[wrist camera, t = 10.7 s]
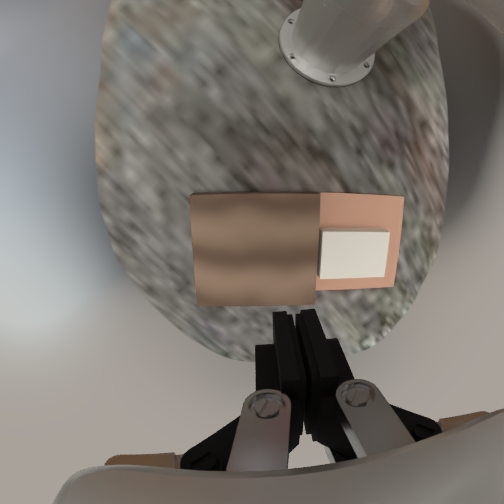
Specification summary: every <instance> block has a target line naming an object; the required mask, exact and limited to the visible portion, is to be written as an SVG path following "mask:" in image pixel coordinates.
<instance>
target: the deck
mask: <svg viewBox="0 0 504 504" xmlns="http://www.w3.org/2000/svg"><path fill="white" fill-rule="evenodd" d="M320 196H321V194H319V193H317V192H213V193H193V194H191V195H190V215H191V232H192V247H193V261H194V273H195V285H196V296H197V306H278V305H310V304H314V301H315V289H316V276H317V262H318V245H319V225H320Z"/></svg>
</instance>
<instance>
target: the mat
mask: <svg viewBox="0 0 504 504" xmlns="http://www.w3.org/2000/svg"><path fill="white" fill-rule="evenodd" d="M320 194H321V196H320V225H319V227H350V228H383V229H385V230H387V231H389V232H390V237H389V246H388V254H387V262H386V269H385V276H384V277H369V278H343V279H319V277H318V275H317V276H316V289H315V290H340V289H361V288H380V287H393V286H394V280H395V274H396V268H397V261H398V254H399V246H400V238H401V229H402V218H403V206H404V197H403V196H391V195H375V194H355V193H330V192H320Z"/></svg>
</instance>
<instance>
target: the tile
mask: <svg viewBox="0 0 504 504" xmlns="http://www.w3.org/2000/svg"><path fill="white" fill-rule="evenodd" d="M389 237H390V232H389V231H387V230H385V229H383V228H350V227H319V245H318V262H317V275H318V277H319V279H343V278H369V277H384V276H385V269H386V262H387V254H388V246H389Z"/></svg>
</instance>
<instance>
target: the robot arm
mask: <svg viewBox="0 0 504 504" xmlns="http://www.w3.org/2000/svg"><path fill="white" fill-rule="evenodd" d="M466 1H467V2H468V3H469V4H471V5H472V6H473V7H474V8H476V9H477V10H478V11H479V12H480V13H481V14H482V15H483V16H485V17H486V18H487V19H488V20H489V21H490V22H491V23H492V24H493V25H494V26H495V27H496V28H497V29H498V30H499V31H501V32H502V34H504V0H466ZM429 2H430V0H303V3H302V6H301V8H300V9H297V10H296V11H294V12H292V13H291V14H290V15H289V16H288V17H287V18H286V19H285V21H284V22H283V24H282V26H281V29H280V34H279V45H280V48H281V52H282V54H283V56H284V58H285V59H286V61H287V62H288V63H289V65H290V66H291V67H292V68H293V69H294V70H295V71H296V72H297V73H299V74H300V75H302V76H303V77H305V78H306V79H308V80H311V81H313V82H315V83H318V84H321V85H325V86H332V87H342V86H347V85H351V84H354V83H356V82H358V81H359V80H361V79H363V78H364V77H365V76H366V75H367V74H368V73H369V72H370V70H371V69H372V66H373V64H374V60H375V52H376V51H377V50H378V49H380V48H381V47H382V46H383V45H385V44H386V43H387V42H388V41H390V40H391V39H392V38H393V37H395V36H396V35H397V34H399V33H400V32H401V31H403V30H404V29H405V28H407V27H408V26H409V25H411V24H412V23H413V22H415V21H416V20H417V19H419V18H420V17H421V16H422V15H423V14H424V13H425V11H426V10H427V8H428V5H429ZM289 23H291V24H289ZM291 57H293V58H294V59H291ZM364 66H365V67H366V68H365V67H364ZM329 79H331V80H332V82H331V81H330V80H329ZM273 340H274V344H266V345H255V364H256V391H255V392H254V393H252V394H250V395H249V396H248V397H247V398H246V399H245V401H244V403H243V407H242V411H241V415H240V416H239V417H237V418H236V419H235V420H233V421H232V422H230V423H229V424H227V425H226V426H225V427H223V428H222V429H220V430H219V431H217V432H216V433H214V434H213V435H211V436H210V437H208V438H207V439H205V440H203V441H202V442H201V443H199V444H197V445H196V446H194V447H192V448H191V449H189V450H188V451H187V452H186V453H184V454H182V455H175V453H160V454H141V455H116V456H113V457H112V458H109V459H108V460H107V462H106V463H105V465H104V466H97V467H91V468H87V469H83V470H80V471H78V472H76V473H75V474H73V475H72V476H71V477H70V478H69V479H68V480H67V481H66V482H65V484H64V485H63V486H62V488H61V490H60V491H59V493H58V494H57V496H56V498H55V500H54V503H53V504H504V409H500V410H496V411H494V412H491V413H488V412H485V411H481V412H475V413H470V414H466V415H460V416H455V417H449V418H443V419H439V421H438V422H435V421H434V420H432V419H430V418H427V417H424V416H421V415H418V414H415V413H412V412H410V411H406V410H404V409H401V408H399V407H396V406H393V405H391V404H389V403H388V402H387V401H386V399H385V397H384V396H383V395H382V394H381V392H380V390H379V389H378V388H377V387H376V386H375V385H374V384H373V383H371V382H369V381H366V380H362V379H354V377H353V374H352V372H351V369H350V367H349V365H348V362H347V360H346V357H345V355H344V353H343V350H342V348H341V346H340V343H339V341H338V339H337V338H333V339H326V337H325V334H324V332H323V329H322V326H321V324H320V321H319V319H318V316H317V313H316V311H315V309H307V310H301V312H300V314H296V322H295V325H294V321H293V317H292V314H289V315H287V312H286V311H281V312H273ZM303 421H304V425H305V431H306V434H312V440H313V441H317V442H319V443H321V444H322V445H324V446H325V451H326V454H327V456H328V459H329V461H330V463H331V464H325V465H319V466H311V467H303V468H294V469H288V459H289V453H290V452H291V451H292V450H293V449H294V448H295V447H296V446H297V445H298V444H299V438H300V435H302V432H303Z"/></svg>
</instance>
